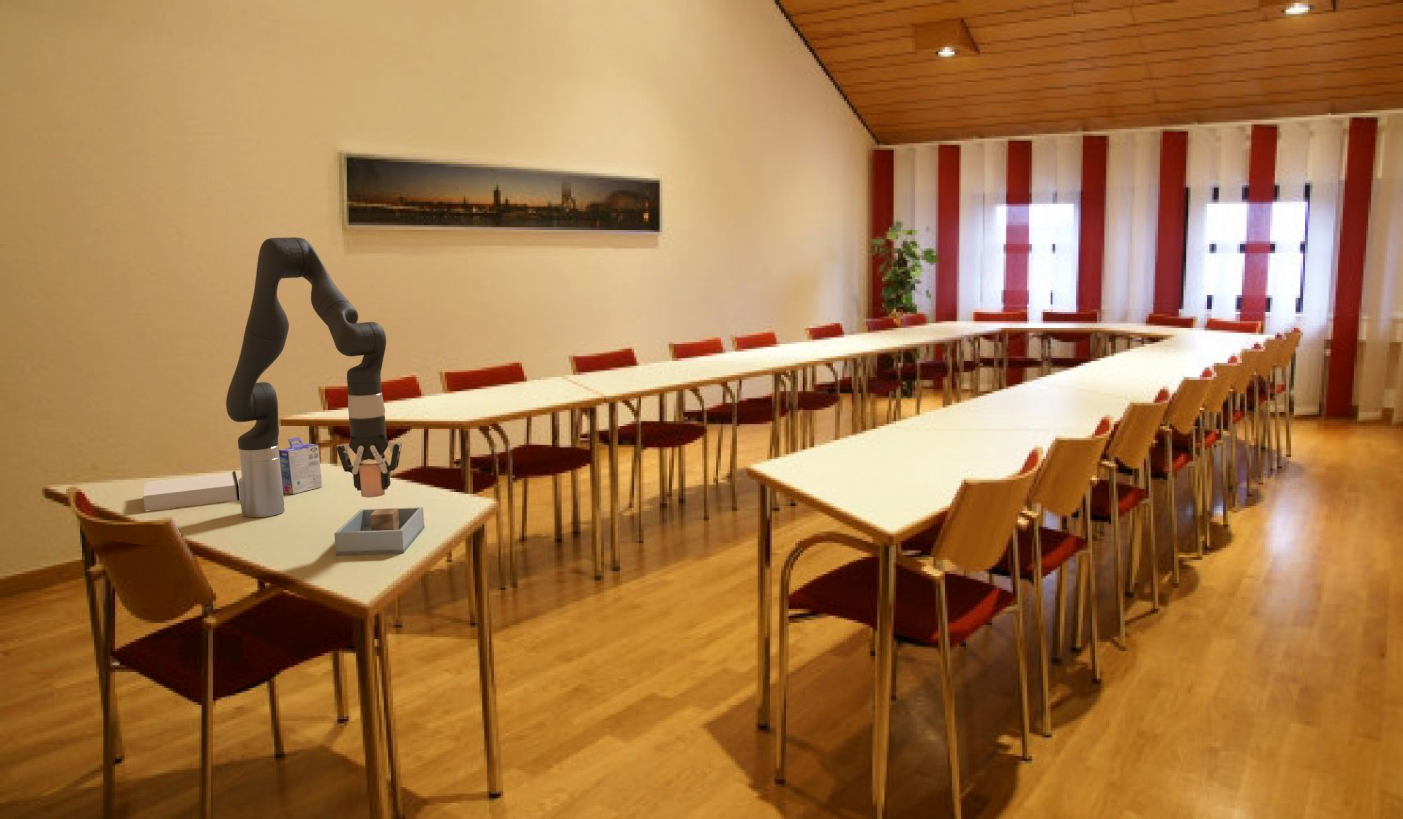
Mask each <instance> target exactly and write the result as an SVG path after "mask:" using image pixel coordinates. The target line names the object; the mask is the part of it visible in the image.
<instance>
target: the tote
mask: <svg viewBox="0 0 1403 819" xmlns="http://www.w3.org/2000/svg"><path fill="white" fill-rule="evenodd" d="M393 508H394V507H393ZM393 508H392V507H389V508H388V507H387V508H385V507H384V508H383V509H393ZM397 508H398V514H399V527H400V529H399V530H384V531H372V528H371V514H372V513H373V512H374V511H375V510H376V509H377V508H360V510H358V511H357V512H356V513H355V514H354V515H352V516H351V517H350V518H349V519H348V520H347V521H346V522H345V523H344V524H343V525H342V526H341V527H339V528H338V529H337V530H336V531H335V532H334V543H335V556H350V555H352V556H354V555H355V556H357V555H384V554H385V555H386V554H387V555H388V554H405V552H406V551H407V550H408V548H410V546H411V545H412V544H413V543H414V541H415V540H416V538H418V537H419V535H420V534H421V533H422V532H423V530H424V529H425V519H424V518H425V516H424V507H423V506H418V507H417V506H416V507H397Z"/></svg>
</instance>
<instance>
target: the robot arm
mask: <svg viewBox="0 0 1403 819" xmlns="http://www.w3.org/2000/svg"><path fill="white" fill-rule="evenodd" d="M294 278H295V279H297V278H303V279H305V280H307V281H308V282H309V283H310V285H311V291H310V301H311V305H312V308H313V310H314V312H315V313H316V314H317V316H318V317H319V318H320V320H322V322H323V323H324V324H325V325H326V326H327V328H328V330H329V333H330V335H331V338H332V341H333V344H334V346H335V348H336V350H337V351H338V352H339V353H340V354H342V355H343V356H346V357H350V358H351V357H360V356H362V360H361V362H360V363H359V364H357V365H356V366H355V365H354V366H353V367H351V368H348V370H347V371H346V382H347V383H346V384H347V394H348V395H347V397H348V398H347V410H348V411H347V412H348V423H349V425H348V426H349V433H350V435H349V436H350V439H349V443H341V444H340V445H338V446H337V447H336V451H337V454H338V457H339V460H340V463H341V467H342V469H343V471H344V472H346V473H351V474H352V476H353V477H352V478H353V479H352V480H353V487H354V489H356V491H359V492H361V487H360V475H359V465H361V464H362V463H364V462H365V461H368V460H370V461H376V462H377V464H378V465H379V466H380V468H381V470H382V474H381V478H382V489H383V490H385V491H386V490H388V489H389V487H390V486H391V472H392V471H395V470H396V469H398V467H399V463H400V462H399V461H400V457H401V452H402V445H403V444H402V442H400V441H399V442H398V441H397V442H393V441H389V439H388V437H387V426H386V408H385V403H384V397H383V390H382V378H381V377H382V376H381V374H382V368H383V362H384V358H385V353H386V348H387V347H386V346H387V336H386V332H385V330H384V328H383V327H382V326H381V324H380V323H377V322H375V321H366V322H359V313H358V310H357V309H356V308H355V306H354V305H353V304H352V303H351V302H350V301H349V300H348V299H347V297H345V295H344V294H343V293H342V292H341V291H340V290H339V288H338V287H337V285H336V284H335V282H334V281H333V279H332V278H331V276H330V274H329V272H328V271H327V268H326V267H325V264H323V262H322V260H321V258H320V256H319V254H318V253H317V252H316V250H315V248H314V247H313V246H312V244H311V243H310V242H309V241H308V240H307V239H306V238H302V237H297V236H296V237H295V236H293V237H270V238H266V239H265V240H264V241H263V242H262V243H261V246H260V248H259V252H258V256H257V264H256V272H255V282H254V289H253V295H252V300H251V306H250V310H249V312H248V313H249V314H248V318H247V322H246V325H245V328H244V333H243V339H242V344H241V348H240V353H239V358H238V361H237V364H236V367H235V370H234V374H233V376H232V377H231V381H230V384H229V387H228V390H227V393H226V398H225V400H226V401H225V406H226V407H225V408H226V413H227V415H228V417H229V418H230V419H231V421H234V422H237V423H246V422H253V421H254V422H255V424H254V425H253V427H252V428H251V429H249V430H247V431H246V432H245V433H242V434H241V435H240V436H239V437H238V438H237V448H238V454H239V467H240V474H241V478H239V479H238V485H239V496H240V500H239V501H240V509H241V516H242V517H249V518H267V517H272V516H277V515H280V514H282V513H284V512H285V500H284V493H283V487H282V477H281V467H280V456H279V450H280V448H279V447H280V446H279V435H280V423H279V402H278V396H277V391H276V389H275V388H274V386H273V385H272V384H271V383H269V382H266V381H259V382H258V380H259V378H260V377H261V376H262V374H263V373H264V372H266V370H268V369H269V367H270V366H272V365H273V363H274V362H276V360H278V358H279V357H280V355H281V354H282V352H283V350H284V349H285V345H286V342H287V338H288V333H289V329H290V323H289V319H288V317H287V314H286V312H285V310H284V308H283V307H282V305H281V303H280V301H279V298H278V287H279V283H280V281H281V279H294ZM388 448H389V452H390V453H392V454H391V459H390V464H389V462H388V458H387V457H386V454H385V452H386V451H387V449H388ZM350 450H351V451H353V453H354V454H355V459H354V462H353V464H352V461H351V458H350V455H349V453H350Z"/></svg>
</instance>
